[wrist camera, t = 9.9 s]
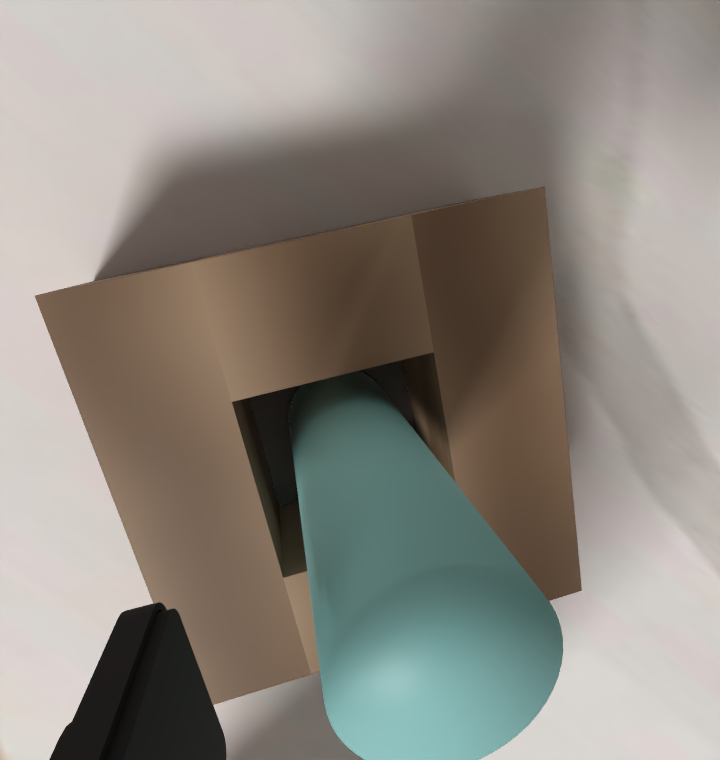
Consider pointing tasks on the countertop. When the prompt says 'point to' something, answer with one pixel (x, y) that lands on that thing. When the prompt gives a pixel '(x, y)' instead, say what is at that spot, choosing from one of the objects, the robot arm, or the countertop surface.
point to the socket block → (309, 364)
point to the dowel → (410, 588)
